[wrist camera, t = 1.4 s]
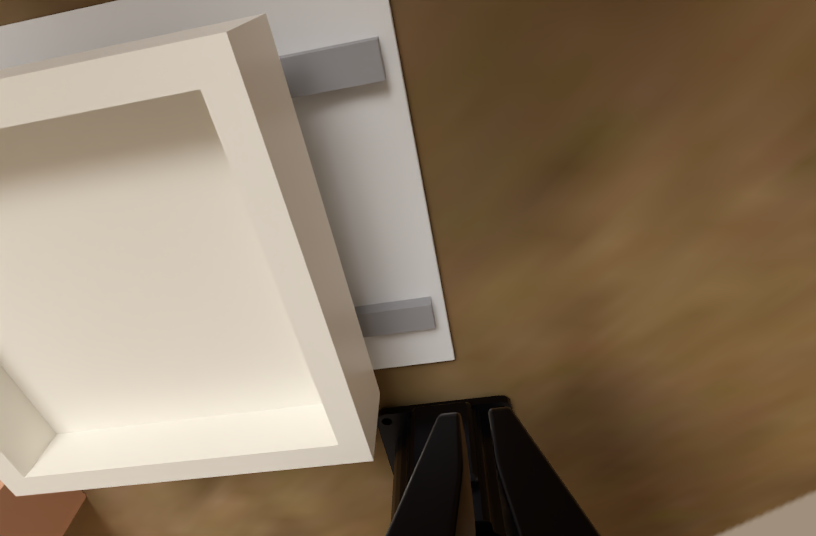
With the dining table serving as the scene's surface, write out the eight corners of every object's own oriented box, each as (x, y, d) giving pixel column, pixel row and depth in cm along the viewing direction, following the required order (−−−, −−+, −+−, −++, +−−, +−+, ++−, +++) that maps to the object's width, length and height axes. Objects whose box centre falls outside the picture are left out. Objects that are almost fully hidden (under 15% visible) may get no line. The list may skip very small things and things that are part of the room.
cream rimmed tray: (382, 362, 22) (373, 461, 18) (87, 398, 24) (16, 496, 20) (282, 5, 15) (226, 31, 11) (-134, 93, 17) (-323, 146, 12)
